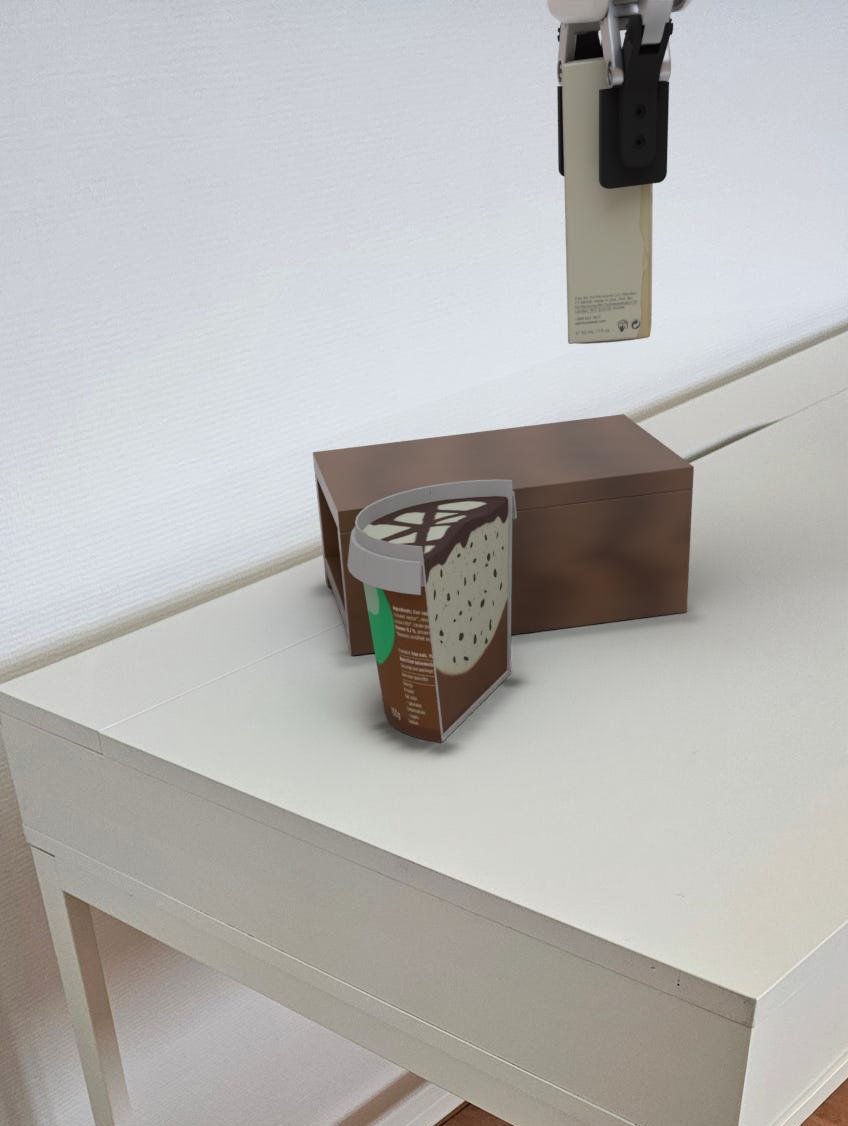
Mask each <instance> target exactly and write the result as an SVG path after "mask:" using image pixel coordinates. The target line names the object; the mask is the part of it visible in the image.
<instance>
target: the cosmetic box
mask: <svg viewBox="0 0 848 1126" xmlns="http://www.w3.org/2000/svg"><path fill="white" fill-rule="evenodd" d="M561 86H562V97H563V143H564V176H563V177H564V179H563V181H564V182H563V185H564V218H565V219H564V221H565V222H564V225H565V226H564V227H565V229H564V230H565V264H566V265H565V267H566V270H565V272H566V308H567V309H566V310H567V313H566V314H567V344H569V345H573V344H574V345H575V344H576V345H578V344H579V345H590V344H605V343H606V344H608V343H618V342H619V343H620V342H629V341H636V340H643V339H648V338H650V337H651V333H652V332H651V331H652V321H653V320H652V319H653V318H652V317H653V316H652V315H653V313H652V312H653V311H652V309H653V306H652V304H653V208H654V207H653V203H654V201H653V200H654V199H653V198H654V197H653V192H654V191H653V190H654V189H653V188H654V187H653V186H654V183H653V184H645V185H637V186H629V187H621V188H613V189H606V188H604V187H602V186H601V185H600V183H599V89H608V86H607V81H606V73H605V64H604V57H600V58H592V59H584V60H576V61H569V62H567V63H565V64H564V65H562V85H561Z"/></svg>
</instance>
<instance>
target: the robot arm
mask: <svg viewBox="0 0 848 1126" xmlns="http://www.w3.org/2000/svg"><path fill="white" fill-rule="evenodd" d="M691 2H693V0H546V3H547V8H548V11H549V13H550V14H551V16H552V17H554V18H555V19H556V20H557V21H558V22H560V25H559V27H558V28H557V32H558V35H556V38H557V42H558V52H557V64H556V78H557V82H558V85H557V86H556V89H557V90H556V91H557V92H556V93H557V94H556V95H557V96H556V97H557V99H556V101H557V162H558V164H557V165H558V167H557V168H558V169H557V170H558V173H559V175H560V176H562V177H564V143H563V97H562V65H564V64H565V63H567V62H569V61H576V60H584V59H592V58H600V57H604V64H605V73H606V81H607V86H608V89H599V183H600V185H601V186H602V187H604V188H606V189H613V188H621V187H629V186H637V185H645V184H653V185H654V184H659V183H662V182H663V181H664V180H666V177H667V175H668V151H669V149H668V148H669V145H668V144H669V143H668V142H669V112H670V111H669V105H670V81H669V80H670V78H671V73H672V57H671V56H672V55H671V47H670V38H671V36H672V35H673V33H674V22H673V18H671V14H672V13H679V12H682V11H684V10H685V9H686V8H688V6H689V5H690V4H691ZM621 31H625V32H624V38H623V42H622V38H621V37H622V36H621ZM599 32H600V35H601V36H600V35H599ZM600 37H601V39H600Z"/></svg>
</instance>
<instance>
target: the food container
mask: <svg viewBox="0 0 848 1126" xmlns="http://www.w3.org/2000/svg"><path fill="white" fill-rule="evenodd" d="M516 518H517V513H516V503H515V493H514V491H513V487H512V480H474V481H461V482H452V483H444V484H438V485H432V486H426V487H421V488H416V489H412V490H408V491H404V492H401V493H397V494H394V495H391V496H388V497H386V498H383V499H381V500H378V501H376V502H374V503H372V504H371V505H369V506H367V507H366V508H364V509H363V510H362V511H361V512H360V513H359V514H358V516H357V517H356V521H355V527H354V529H353V530H352V532H351V537H350V546H349V555H348V564H347V566H348V569H349V572H350V573H351V574H352V575H353V576H354V577H355V578H357V579H358V580H360V581H361V582H363V584H364V590H365V596H366V602H367V608H368V614H369V620H370V626H371V633H372V639H373V645H374V651H375V653H374V656H375V661H376V668H377V669H376V670H377V674H378V681H379V687H380V692H381V693H380V694H381V698H382V704H383V711H384V716H385V719H386V720H387V722H388V723H389V724H390V725H391V726H392V727H393V728H395V729H396V730H398V731H399V732H402V733H403V734H406V735H409V736H411V737H414V738H418V739H422V740H425V741H430V742H437V743H443V742H444V741H445V740H446V739H447V738H449V736H450V735H451V734H452V733H453V732H454V731H455V730H456V729H457V728H458V727H459V726H460V725H461V724H462V723H463V722H464V721H466V719H467V718H468V717H469V716H470V715H472V713H473V712H475V710H476V709H477V708H479V706H480V705H481V704H482V703H483V702H484V701H485V700H487V698H488V697H490V695H491V694H492V693H493V692H494V691H495V690H496V689H497V688H498V687H499V686H501V684H502V683H504V681H505V680H506V679H507V678H508V677H509V676H510V675H511V667H512V666H511V665H512V664H511V663H512V661H511V659H512V635H511V587H512V519H516Z"/></svg>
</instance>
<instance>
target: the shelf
mask: <svg viewBox="0 0 848 1126" xmlns="http://www.w3.org/2000/svg"><path fill="white" fill-rule="evenodd" d="M312 460H313V469H314V470H313V471H314V479H315V480H314V481H315V490H316V500H317V508H318V509H317V510H318V518H319V519H318V520H319V528H320V538H321V549H322V557H323V568H324V577H325V584H326V586H327V588H331V590H332V592H333V595H334V597H335V598H334V599H335V601H336V603H337V606H338V609H339V611H340V615H341V618H342V620H343V623H344V626H345V629H346V631H347V632H346V634H347V642H348V643H347V644H348V649H349V653H350V655H351V656H359V655H367V654H375V651H374V645H373V639H372V633H371V626H370V620H369V614H368V608H367V602H366V596H365V590H364V584H363V582H361V581H360V580H358V579H357V578H355V577H354V576H353V575H352V574H351V573H350V572H349V569H348V566H347V564H348V555H349V546H350V537H351V532H352V530H353V529H354V527H355V521H356V517H357V516H358V514H359V513H360V512H361V511H362V510H363V509H364V508H366V507H367V506H369V505H371V504H372V503H374V502H376V501H378V500H381V499H383V498H386V497H388V496H391V495H394V494H397V493H401V492H404V491H408V490H412V489H416V488H421V487H426V486H432V485H438V484H444V483H452V482H461V481H474V480H512V487H513V491H514V493H515V503H516V513H517V518H516V519H512V587H511V636H513V635H520V634H528V633H536V632H545V631H550V630H560V629H567V628H573V627H574V628H575V627H582V626H589V625H596V624H605V623H611V622H612V623H613V622H619V621H629V620H634V619H635V620H636V619H642V618H643V619H644V618H650V617H652V618H653V617H657V616H658V617H660V616H667V615H673V614H682V613H687V612H688V597H689V595H688V593H689V574H690V557H691V556H690V553H691V531H692V513H693V512H692V511H693V493H694V492H693V489H694V476H695V475H694V473H695V467H694V465H692V464H691V463H690V462H688V461H687V460H686V459H684V458H683V457H682V456H680V455H679V454H678V453H676V452H675V451H674V450H672V449H671V448H670V447H668V446H667V445H666V444H664V443H663V442H662V441H660V440H659V439H657V438H656V437H655V436H654V435H652V434H651V433H649V432H648V431H647V430H646V429H644V428H643V427H641V426H640V425H639V424H638V423H636V422H635V421H634V420H632V419H631V418H629V417H628V416H627V415H626V414H624V413H622V414H616V415H607V416H598V417H589V418H582V419H581V418H580V419H573V420H565V421H564V420H563V421H557V422H549V423H541V424H532V425H524V426H517V427H515V426H514V427H509V428H507V427H506V428H500V429H499V428H498V429H491V430H490V429H489V430H484V431H476V432H475V431H474V432H467V433H459V434H450V435H442V436H433V437H426V438H417V439H409V440H401V441H393V442H385V443H379V444H378V443H376V444H368V445H361V446H353V447H352V446H351V447H345V448H344V447H343V448H335V449H329V450H328V449H327V450H320V451H312Z"/></svg>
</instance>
